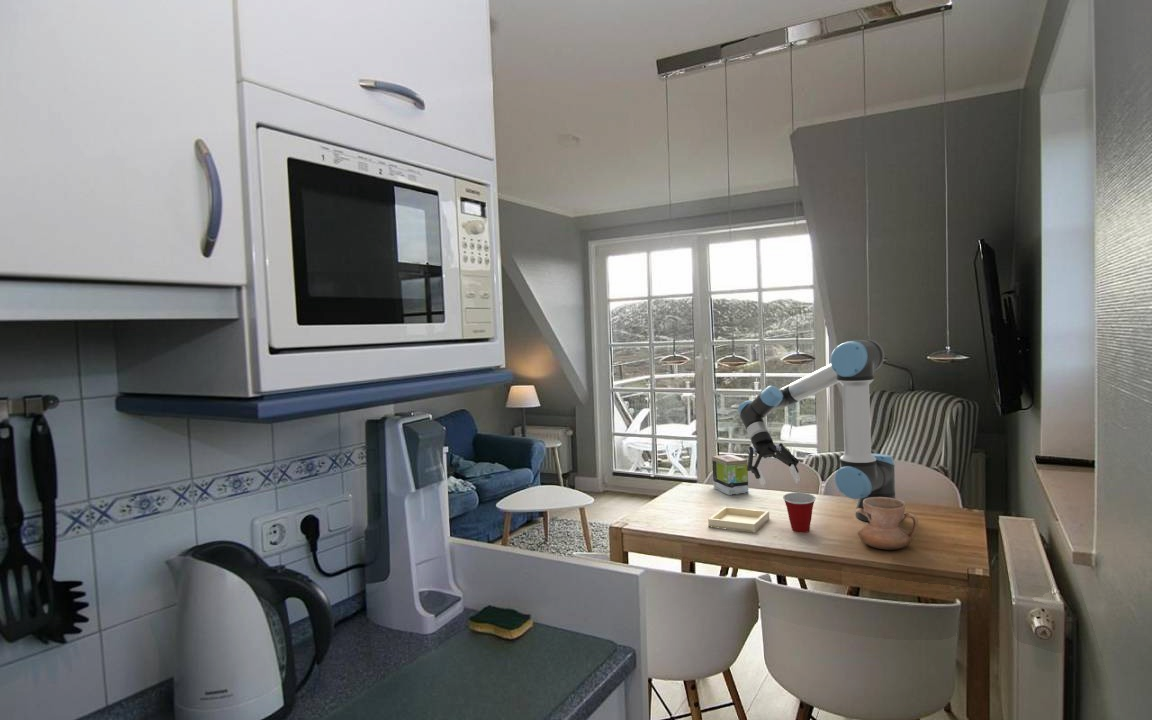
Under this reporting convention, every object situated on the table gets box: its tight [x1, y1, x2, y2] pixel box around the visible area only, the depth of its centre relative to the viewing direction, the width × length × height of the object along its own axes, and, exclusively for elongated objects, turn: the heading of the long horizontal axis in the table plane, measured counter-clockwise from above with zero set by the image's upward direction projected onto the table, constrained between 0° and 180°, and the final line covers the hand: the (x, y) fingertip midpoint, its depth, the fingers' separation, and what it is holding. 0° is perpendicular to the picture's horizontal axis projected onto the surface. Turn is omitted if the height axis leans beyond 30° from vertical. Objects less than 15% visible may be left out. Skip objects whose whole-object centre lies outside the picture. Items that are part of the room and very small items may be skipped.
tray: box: [707, 506, 770, 534], centre depth 235 cm, size 17×17×3 cm
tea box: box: [711, 453, 749, 496], centre depth 281 cm, size 15×10×15 cm, turn 13°
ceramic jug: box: [854, 497, 919, 551], centre depth 203 cm, size 18×14×14 cm
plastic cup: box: [782, 491, 816, 534], centre depth 223 cm, size 11×11×12 cm
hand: (781, 483), depth 234 cm, fingers open, 13 cm apart
